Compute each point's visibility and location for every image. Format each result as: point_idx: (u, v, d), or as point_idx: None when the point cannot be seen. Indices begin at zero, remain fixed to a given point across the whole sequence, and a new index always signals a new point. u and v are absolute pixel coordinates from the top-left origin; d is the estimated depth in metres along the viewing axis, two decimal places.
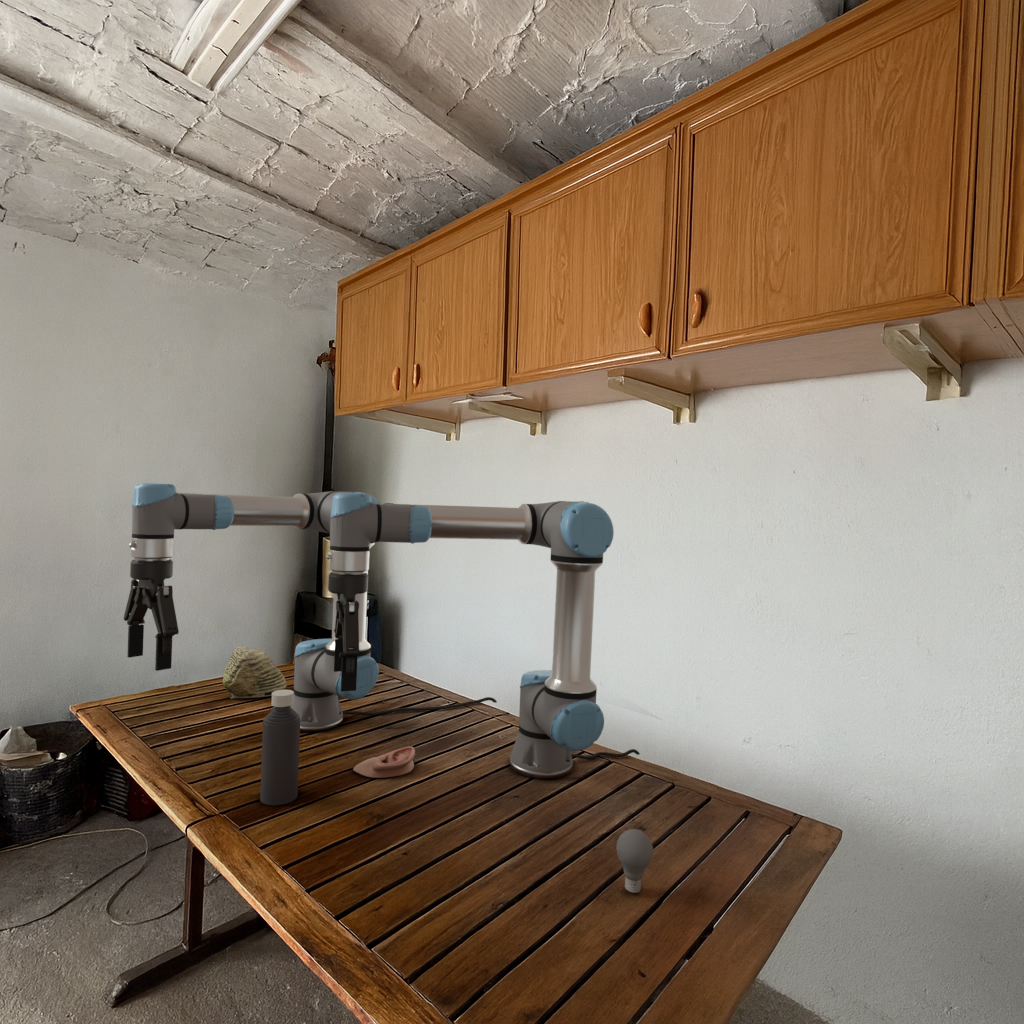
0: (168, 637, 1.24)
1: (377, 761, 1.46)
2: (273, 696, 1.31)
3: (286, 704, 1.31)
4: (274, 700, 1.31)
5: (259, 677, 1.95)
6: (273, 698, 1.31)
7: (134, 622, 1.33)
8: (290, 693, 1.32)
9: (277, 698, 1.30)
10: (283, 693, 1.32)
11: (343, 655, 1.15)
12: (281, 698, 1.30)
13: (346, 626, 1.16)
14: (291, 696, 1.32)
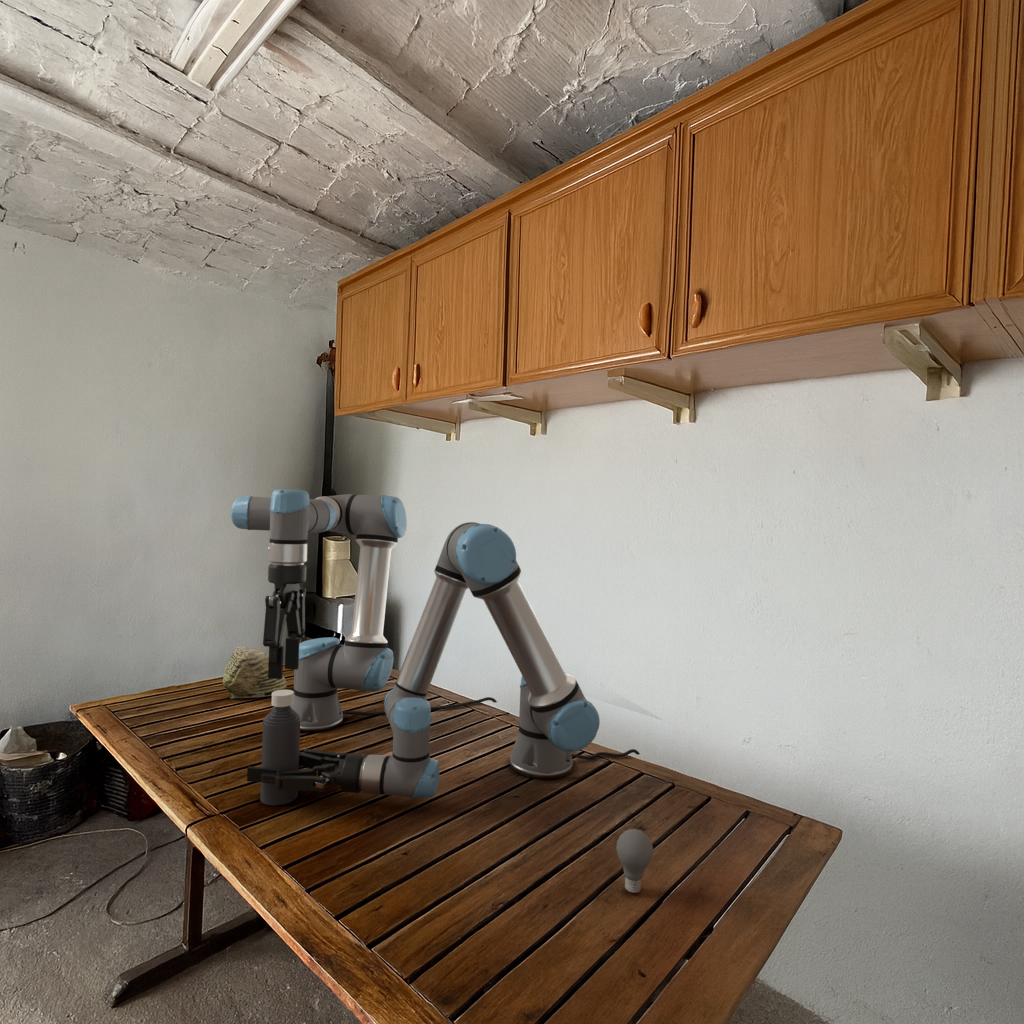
0: (272, 647, 1.27)
1: None
2: (273, 696, 1.31)
3: (286, 704, 1.31)
4: (274, 700, 1.31)
5: (259, 677, 1.95)
6: (273, 698, 1.31)
7: (292, 634, 1.36)
8: (290, 693, 1.32)
9: (277, 698, 1.30)
10: (283, 693, 1.32)
11: None
12: (281, 698, 1.30)
13: None
14: (291, 696, 1.32)
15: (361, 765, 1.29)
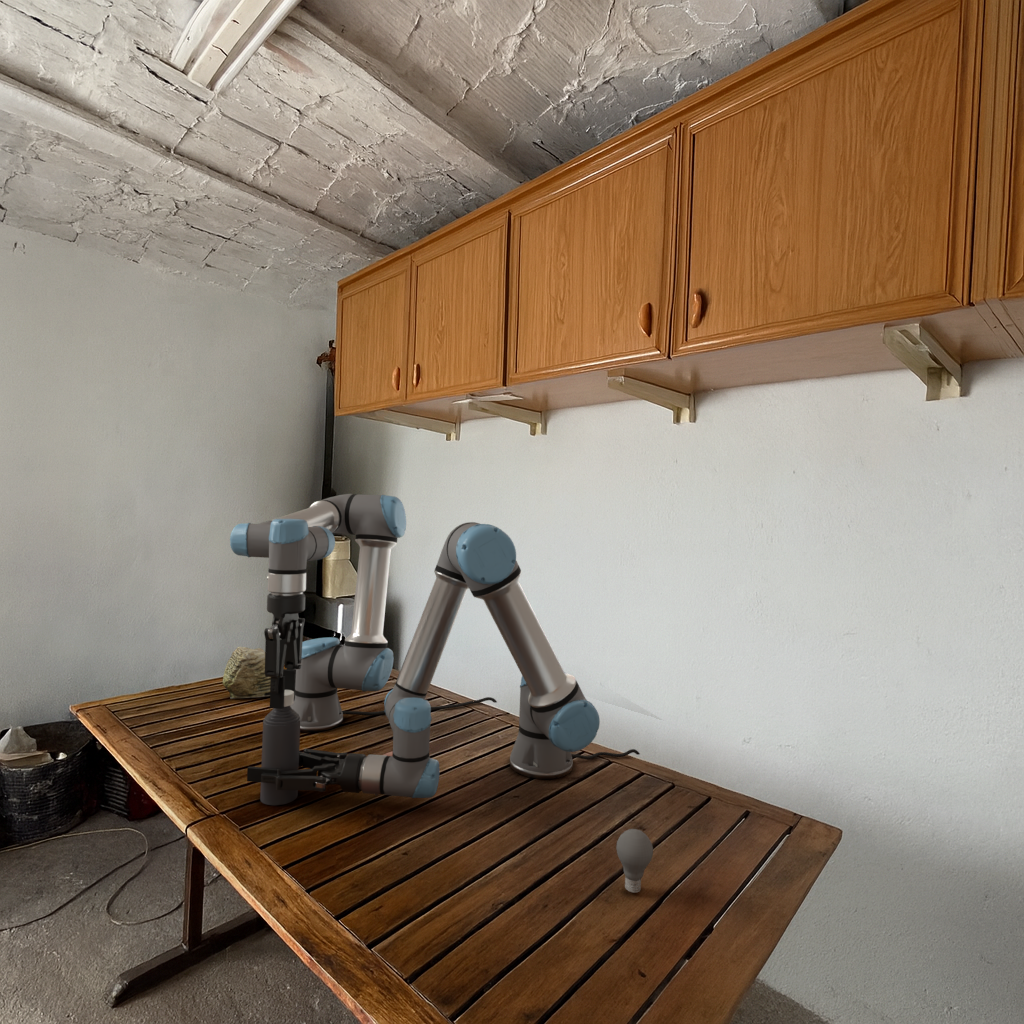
0: (274, 678, 1.28)
1: None
2: None
3: (286, 704, 1.31)
4: None
5: (259, 677, 1.95)
6: None
7: (289, 665, 1.35)
8: (290, 693, 1.32)
9: None
10: None
11: None
12: None
13: None
14: (291, 696, 1.32)
15: (361, 765, 1.29)
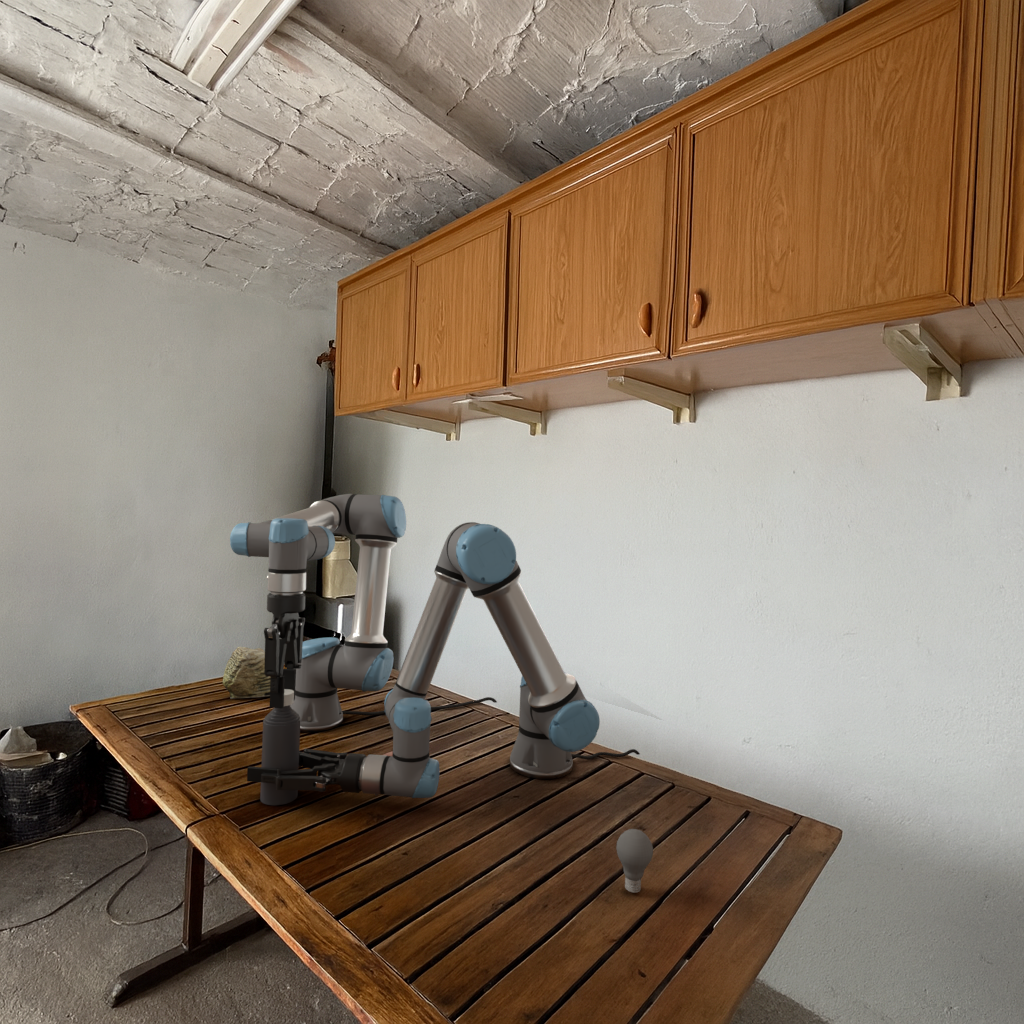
0: (274, 677, 1.28)
1: None
2: (293, 694, 1.33)
3: None
4: (293, 696, 1.33)
5: (259, 677, 1.95)
6: (293, 695, 1.33)
7: (289, 664, 1.35)
8: None
9: None
10: (284, 691, 1.33)
11: None
12: None
13: None
14: None
15: (361, 765, 1.29)
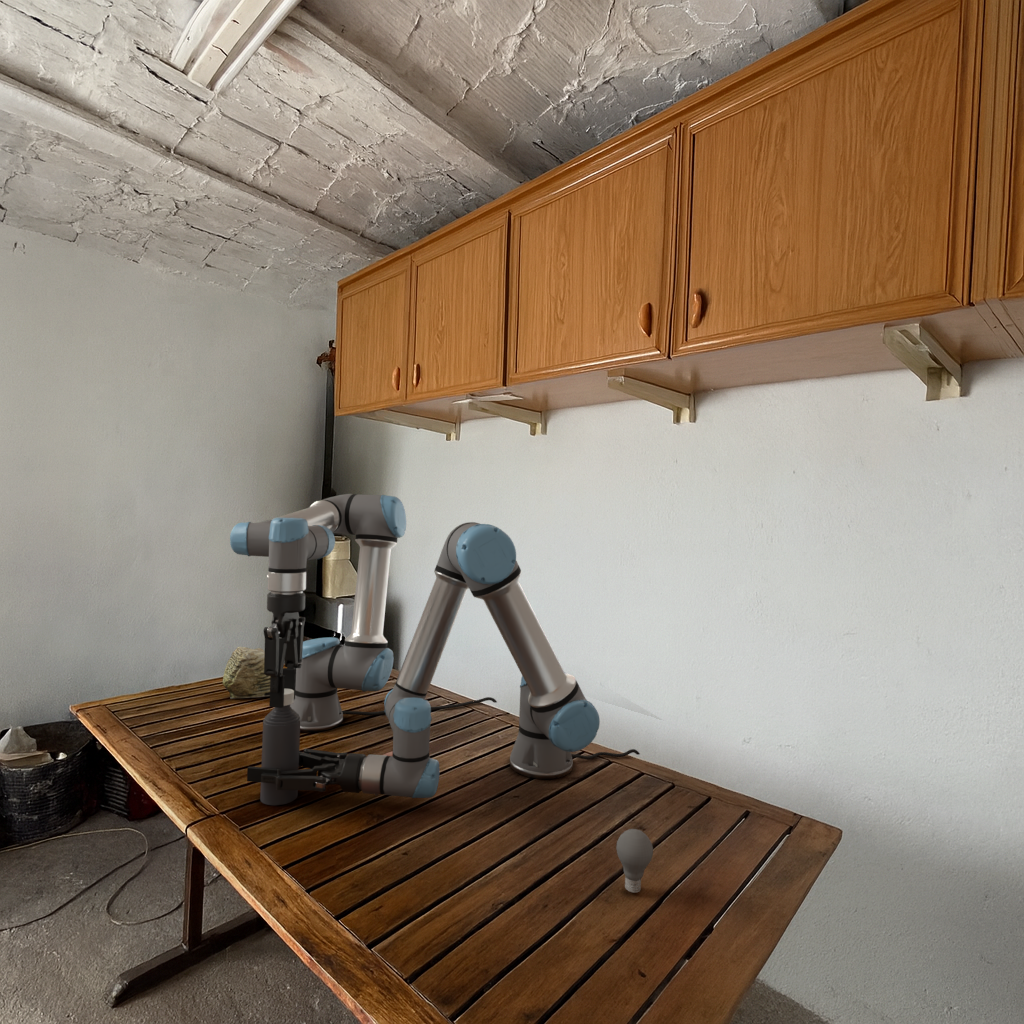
0: (273, 677, 1.28)
1: None
2: None
3: None
4: None
5: (259, 677, 1.95)
6: None
7: (289, 664, 1.35)
8: None
9: None
10: None
11: None
12: None
13: None
14: None
15: (361, 765, 1.29)
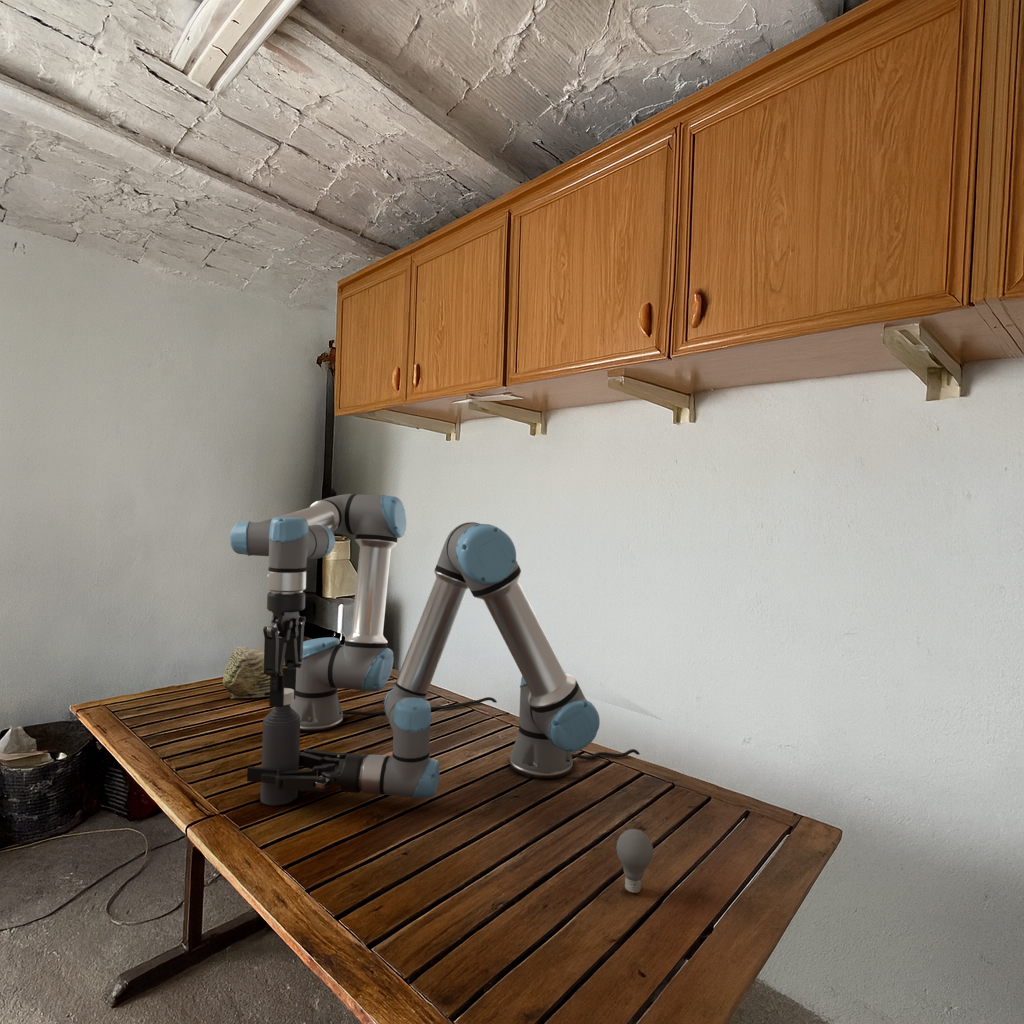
0: (273, 676, 1.28)
1: None
2: None
3: (291, 701, 1.32)
4: None
5: (259, 677, 1.95)
6: None
7: (289, 663, 1.35)
8: (291, 690, 1.33)
9: None
10: (284, 691, 1.32)
11: None
12: (286, 696, 1.31)
13: None
14: (293, 693, 1.33)
15: (361, 765, 1.29)
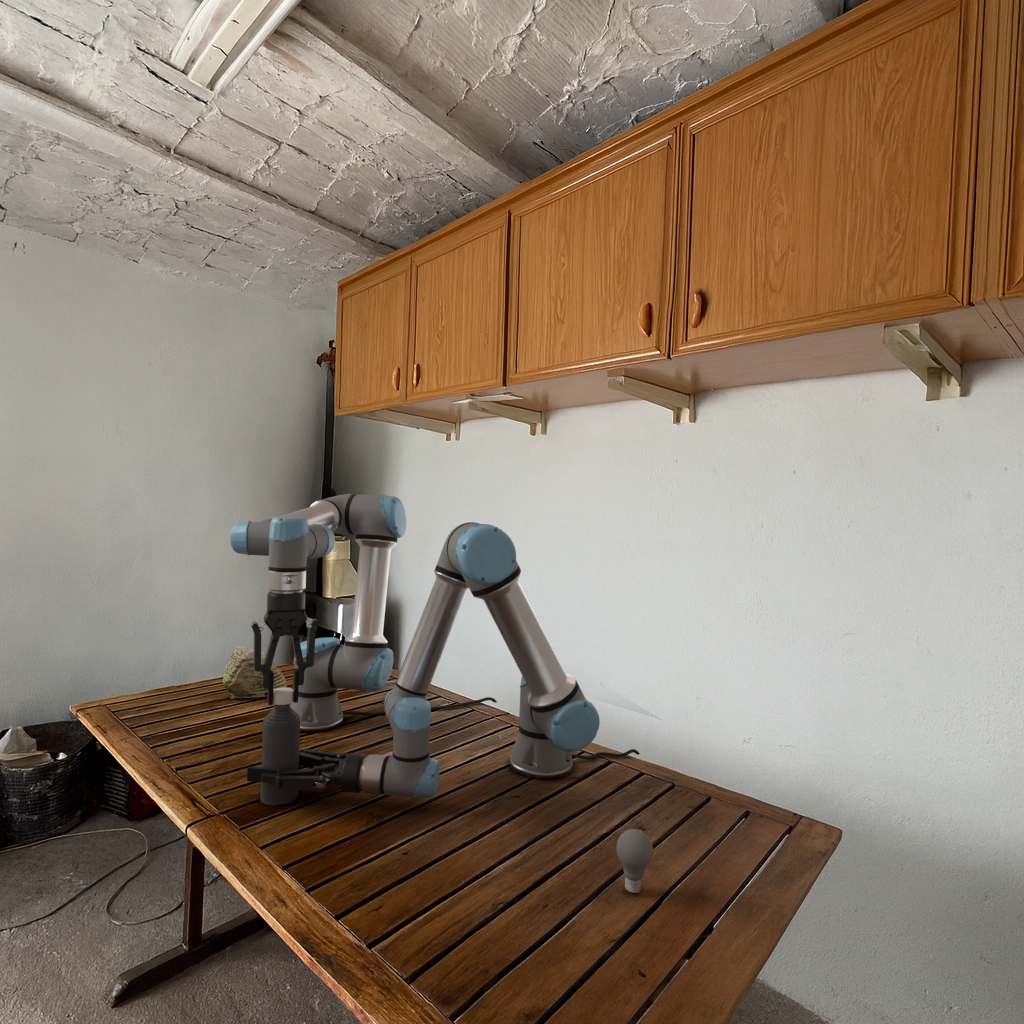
0: None
1: None
2: (293, 691, 1.34)
3: None
4: None
5: (259, 677, 1.95)
6: None
7: None
8: (277, 689, 1.33)
9: None
10: (283, 689, 1.33)
11: None
12: None
13: None
14: None
15: (361, 765, 1.29)
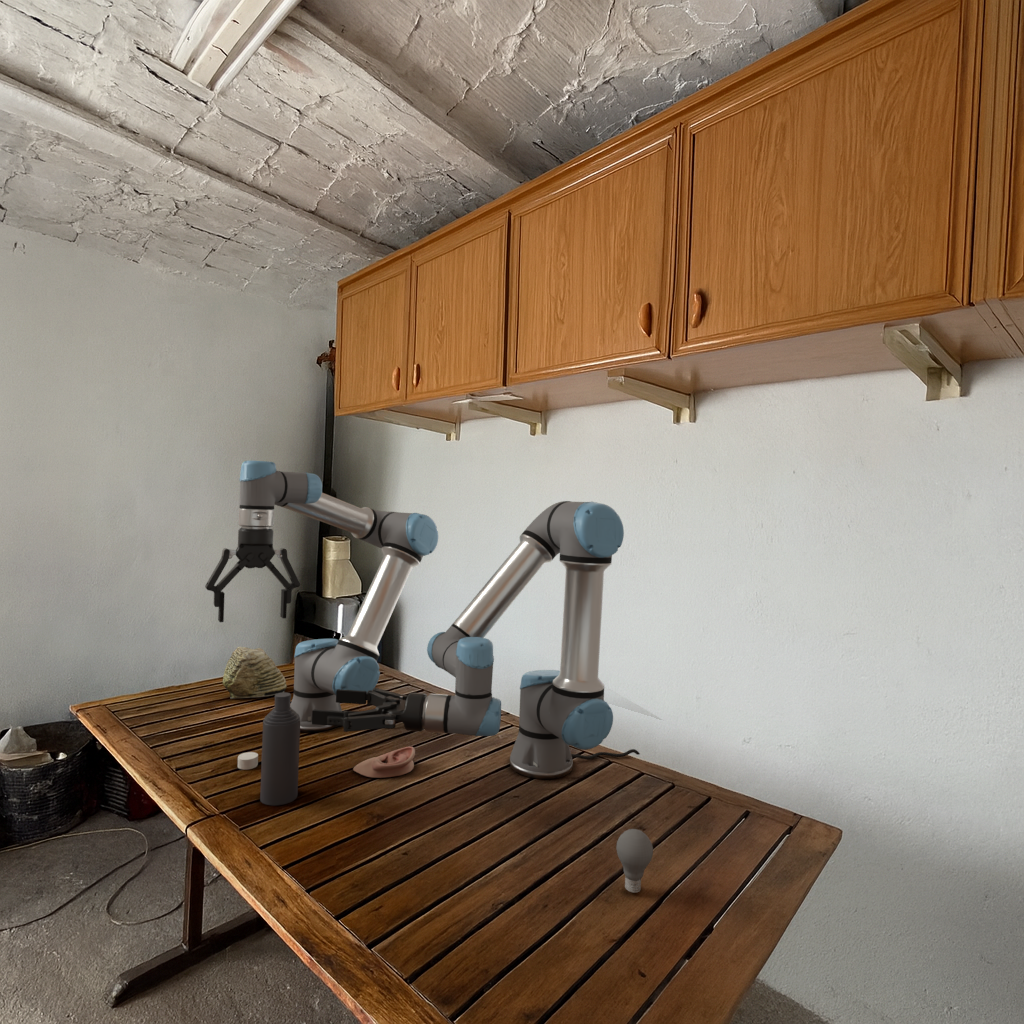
0: None
1: (377, 761, 1.46)
2: None
3: None
4: None
5: (259, 677, 1.95)
6: None
7: None
8: (243, 754, 1.48)
9: None
10: (248, 754, 1.48)
11: None
12: None
13: None
14: None
15: (424, 703, 1.28)
